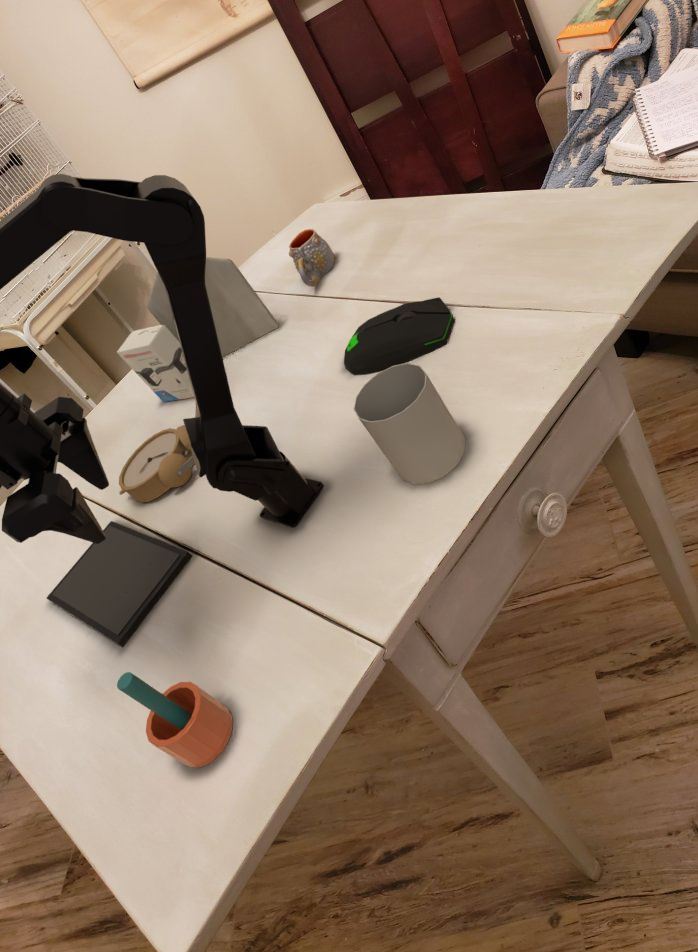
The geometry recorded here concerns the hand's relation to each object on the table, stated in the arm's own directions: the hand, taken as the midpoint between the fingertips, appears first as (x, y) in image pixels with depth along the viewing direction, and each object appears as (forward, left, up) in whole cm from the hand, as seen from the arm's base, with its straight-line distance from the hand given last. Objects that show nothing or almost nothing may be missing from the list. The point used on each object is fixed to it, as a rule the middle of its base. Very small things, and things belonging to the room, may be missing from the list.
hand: (103, 512), depth 77 cm
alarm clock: (+19, -14, -14) cm, 27 cm away
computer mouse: (-6, -42, -14) cm, 44 cm away
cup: (-23, -24, -14) cm, 36 cm away
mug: (+23, -57, -14) cm, 63 cm away
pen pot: (-18, +12, -14) cm, 26 cm away
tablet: (+12, +3, -14) cm, 18 cm away
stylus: (-18, +12, -13) cm, 26 cm away
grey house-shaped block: (+31, -42, -14) cm, 54 cm away
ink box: (+33, -29, -14) cm, 46 cm away
